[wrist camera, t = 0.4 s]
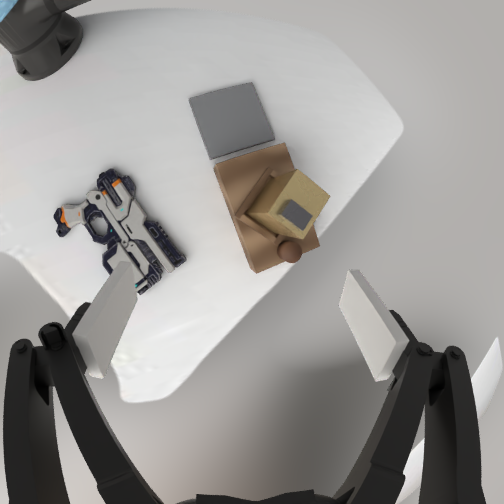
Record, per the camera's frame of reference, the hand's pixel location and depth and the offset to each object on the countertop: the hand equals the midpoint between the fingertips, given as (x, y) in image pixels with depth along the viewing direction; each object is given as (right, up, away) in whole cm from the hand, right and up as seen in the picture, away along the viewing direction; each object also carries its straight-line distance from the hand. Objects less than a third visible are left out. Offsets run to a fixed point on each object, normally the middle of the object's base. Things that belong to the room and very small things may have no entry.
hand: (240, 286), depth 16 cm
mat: (-3, +23, +25) cm, 34 cm away
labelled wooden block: (+3, +9, +24) cm, 26 cm away
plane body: (+3, +9, +28) cm, 30 cm away
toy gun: (-21, +4, +24) cm, 32 cm away
